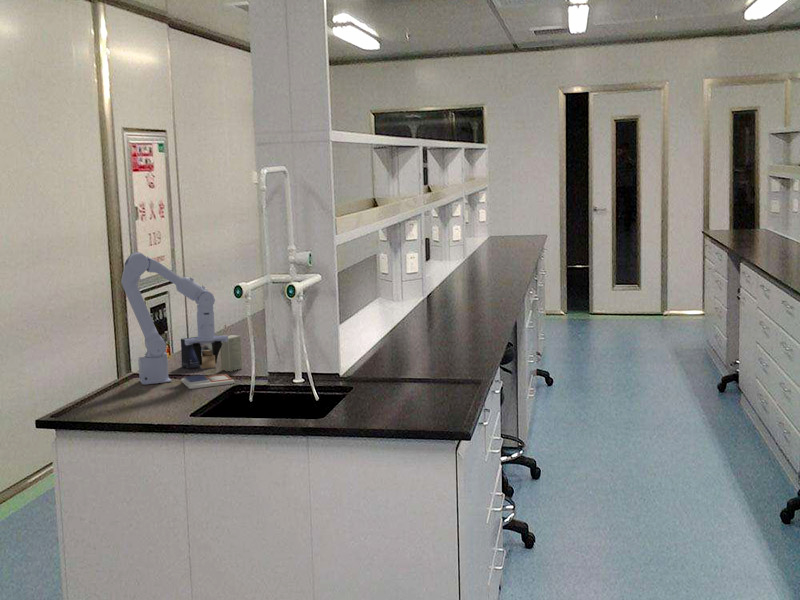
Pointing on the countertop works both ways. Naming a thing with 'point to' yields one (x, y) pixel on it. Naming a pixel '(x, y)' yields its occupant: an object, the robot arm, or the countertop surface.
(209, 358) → the stamp
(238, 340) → the skincare box
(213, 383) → the board
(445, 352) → the countertop surface
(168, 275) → the robot arm
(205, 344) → the small box
